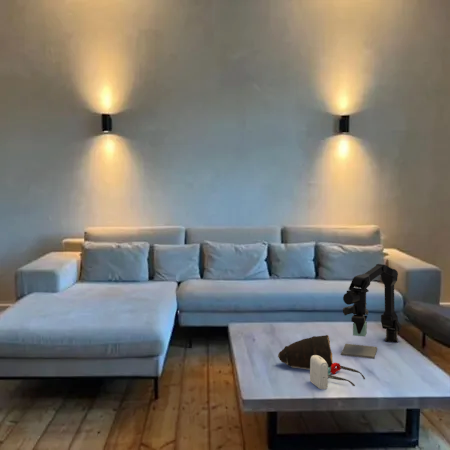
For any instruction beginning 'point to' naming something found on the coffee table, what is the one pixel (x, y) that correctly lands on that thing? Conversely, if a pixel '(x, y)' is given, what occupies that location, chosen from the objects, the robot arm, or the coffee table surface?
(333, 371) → the novelty glasses
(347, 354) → the mat
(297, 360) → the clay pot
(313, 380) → the photo printer
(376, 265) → the robot arm
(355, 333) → the cube
